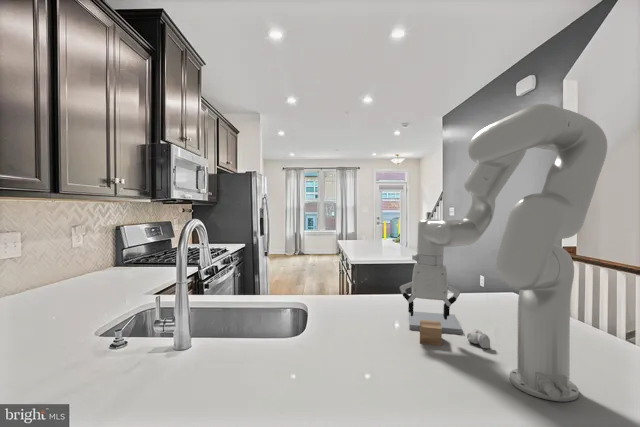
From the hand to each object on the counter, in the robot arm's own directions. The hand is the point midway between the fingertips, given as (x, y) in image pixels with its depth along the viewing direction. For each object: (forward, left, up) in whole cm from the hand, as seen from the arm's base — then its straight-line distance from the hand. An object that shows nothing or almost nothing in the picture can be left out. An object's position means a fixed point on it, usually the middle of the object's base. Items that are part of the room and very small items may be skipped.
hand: (428, 316), depth 101 cm
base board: (+15, -3, -7) cm, 17 cm away
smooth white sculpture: (0, -14, -7) cm, 15 cm away
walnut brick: (-1, -1, -7) cm, 7 cm away
